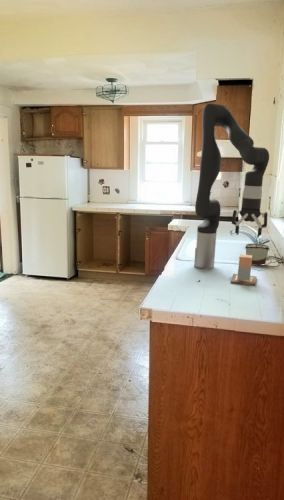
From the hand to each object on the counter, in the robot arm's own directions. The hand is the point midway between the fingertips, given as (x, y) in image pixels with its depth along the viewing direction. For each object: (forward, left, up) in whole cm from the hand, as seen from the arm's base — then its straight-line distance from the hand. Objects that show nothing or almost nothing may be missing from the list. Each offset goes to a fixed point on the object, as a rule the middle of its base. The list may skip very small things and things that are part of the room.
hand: (247, 235), depth 158 cm
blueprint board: (0, 0, -20) cm, 20 cm away
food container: (+3, +35, -20) cm, 41 cm away
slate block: (0, 0, -19) cm, 19 cm away
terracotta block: (0, 0, -14) cm, 14 cm away
